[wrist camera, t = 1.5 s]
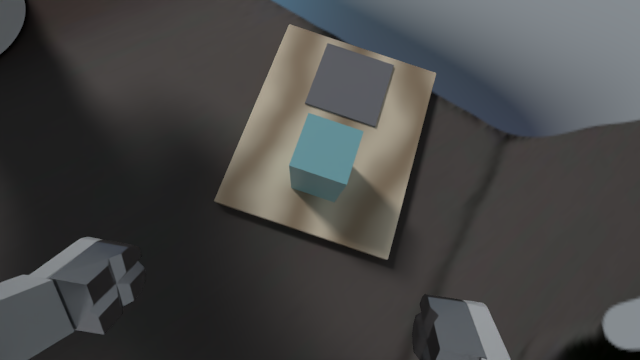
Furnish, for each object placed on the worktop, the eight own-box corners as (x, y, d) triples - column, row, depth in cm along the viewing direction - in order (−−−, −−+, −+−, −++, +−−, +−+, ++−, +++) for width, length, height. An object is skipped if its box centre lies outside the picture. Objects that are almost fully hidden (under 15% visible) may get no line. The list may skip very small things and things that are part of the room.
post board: (217, 203, 31) (197, 190, 25) (289, 33, 36) (287, -13, 30) (383, 259, 31) (405, 260, 25) (430, 80, 36) (458, 44, 30)
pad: (304, 103, 33) (304, 102, 32) (327, 44, 35) (327, 42, 34) (374, 127, 33) (375, 126, 32) (393, 66, 35) (393, 65, 34)
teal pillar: (291, 187, 30) (289, 165, 23) (305, 147, 32) (308, 112, 24) (334, 202, 30) (346, 184, 23) (347, 161, 32) (363, 131, 24)
